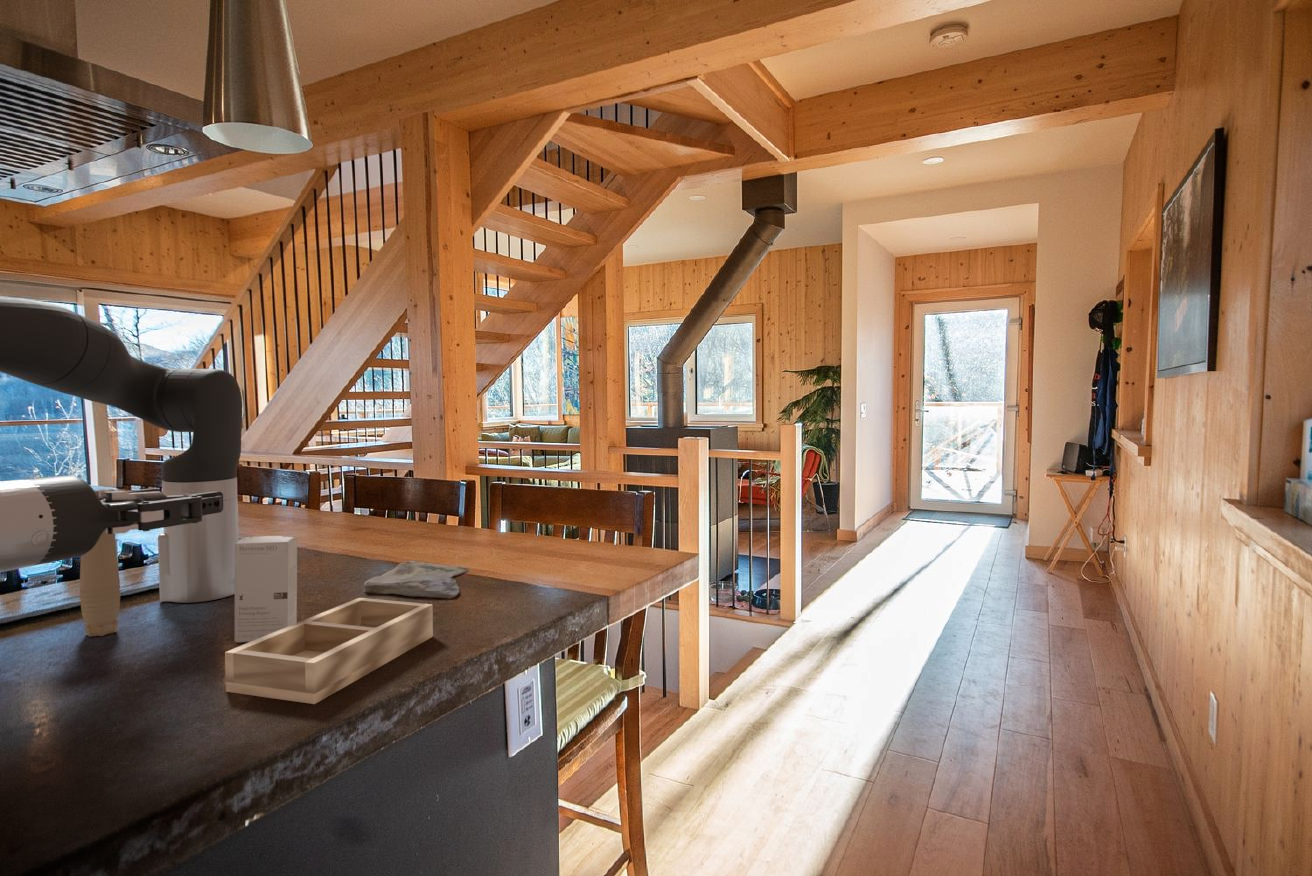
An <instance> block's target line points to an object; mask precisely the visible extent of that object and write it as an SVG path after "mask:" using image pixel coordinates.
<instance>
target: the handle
mask: <svg viewBox="0 0 1312 876" xmlns="http://www.w3.org/2000/svg"><path fill="white" fill-rule="evenodd" d="M117 554H118V552H117V543H116V534H106V529H105V530H104V532H103V533H102V534H101V536H100V538H99V540H98V542H97V543H96V545H95V546H94V547H93V548H92V549H91V550H90V551H89V552H87V553H86V554H84V555H82V556H80V567H79V570H80V571H79V595H80V596H79V600H80V609H81V616H82V621H83V622H84V629H85V634H87V636H88V637H103V636H105V635H110V634H114V633H116V631H118V627H119V621H118V618H119V617H120V609H121V608H120V607H121V585H120V584H121V581H120V579H121V578H120V571H119V562H118V555H117Z"/></svg>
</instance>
